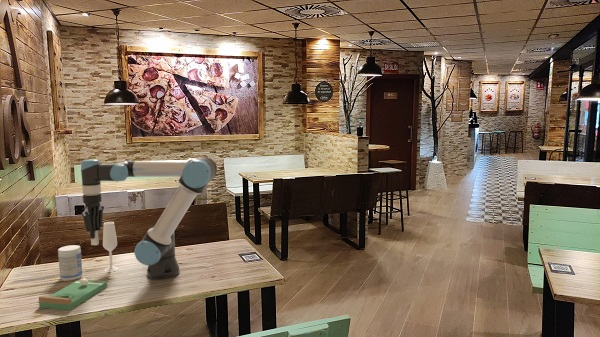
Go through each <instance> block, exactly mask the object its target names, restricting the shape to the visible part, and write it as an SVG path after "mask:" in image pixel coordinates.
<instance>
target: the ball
mask: <svg viewBox="0 0 600 337" xmlns="http://www.w3.org/2000/svg"><path fill="white" fill-rule="evenodd" d="M80 280H81V281H80V285H82V286H85V285H87V284H88V280H89V279H88V278H81V279H80Z"/></svg>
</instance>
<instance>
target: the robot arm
mask: <svg viewBox="0 0 600 337" xmlns="http://www.w3.org/2000/svg"><path fill="white" fill-rule="evenodd" d="M80 166H81V167H80V174H81V184H82V185H81V186H82V194H83V195H82V203H84V204H85V206H84V211H81V216H82V218H83V222H84V228H85V230H86V231H87V232H89V234H90V235H89V237H90V245H91V246H98V245H99V244H100V242H99V231H101V228H102V227H103V214H104V209H105V206H102V205H101V203H102V194H101V192H102V186H101V183H102V182H125V181H126V180H127V178H136V177H137V178H138V177H141V178H145V177H147V178H148V177H159V178H160V177H164V178H165V177H166V178H167V177H169V178H170V177H180V178H179V179H178V183H179V186H178V187H177V189H176V191H175V192H174V194H173V195H172V197H171V198H170V200H169V201H168V204H166V207H165V209H164V210H163V212H162V214H161V215H160V216H159V219H158V220H157V222H156V223H155V225H154V226H153V227H150V228H148V230H147V231H146V232H145V235H144V236H143V238H142V240H140V241H138V243H137V244H136V246H135V247H134V250H133V251H134V256H135V258H136V260H137V261H138V262H139V263H140V264H142V265H144V266H148V267H147V268H146V269H147V270H146V275H147V277H148V278H150V279H157V280H162V279H169V278H172V277H175V276H177V275H179V274H180V266H179V263H178V260H177V257H176V243H175V242H176V241H175V240H176V238H175V236H176V235H175V230H176V229H177V228H178V226H179V224H180V222H182V219H183V218H184V216H185V214H186V213H187V211H189V210H188V209H189V208H190V206H191V205H192V203H193V201H194V200H195V198H196V197H197V195H202V194H203V191H205V189H206V188H207V185H208V184H209V183H210V182H211V181H212V180H213V179H214V178H216V176H217V172H218V167H217V164H216V162H215V161H214V160H213V159H211V158H209V157H207V156H203V157H201V156H200V157H193V158H189V159H186V160H131V159H130V160H128V159H127V160H122V161H119V162H115V163H112V164H111V163H110V164H107V163H106V164H101V162H100V160H99V159H95V158H93V159H92V158H90V159H84V160H81V161H80Z"/></svg>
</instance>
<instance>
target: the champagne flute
mask: <svg viewBox="0 0 600 337" xmlns="http://www.w3.org/2000/svg"><path fill="white" fill-rule="evenodd" d="M102 227H103V229H102V231H103V232H102V233H103V234H102V247H103V248H104V249H105V250H106V251H108V253H109V256H108V257H109V266H108V267H107V268H105V269H104V272H105V273H113V272H117V271H118V270H120V268H119V267H116V266H114V265H113V250H115V249H116V247H117V246H118V239H117V233H116V226H115V222H114V221H107V222H106V221H105V222H103V226H102Z"/></svg>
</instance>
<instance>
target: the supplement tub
mask: <svg viewBox="0 0 600 337" xmlns="http://www.w3.org/2000/svg"><path fill="white" fill-rule="evenodd" d="M57 255H58V256H57V257H58V267H59V278H60V280H61V281H64V282H69V281H75V280H79V279H80V278H82V276H83V265H82V264H83V263H82V249H81V246H80V245H78V244H77V245H75V244H74V245H73V244H72V245H71V244H70V245H65V246H61V247H60V248H58V249H57Z"/></svg>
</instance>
